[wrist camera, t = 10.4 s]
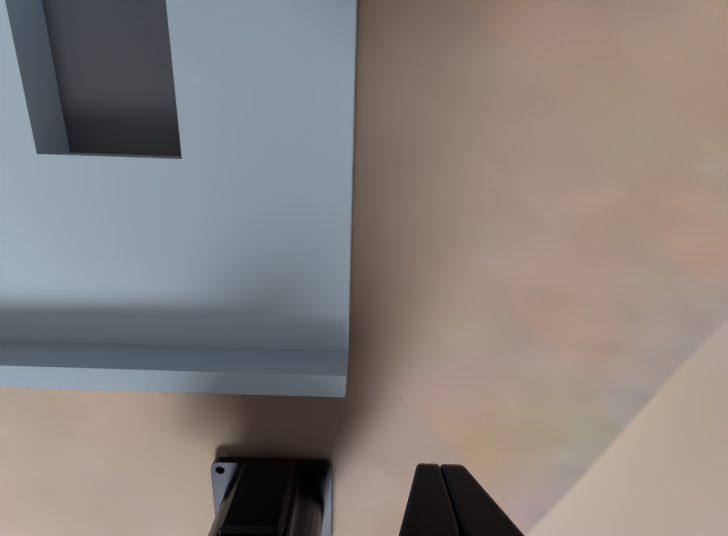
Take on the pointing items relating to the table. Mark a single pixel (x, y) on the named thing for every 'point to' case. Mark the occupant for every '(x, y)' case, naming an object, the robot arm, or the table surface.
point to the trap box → (177, 195)
